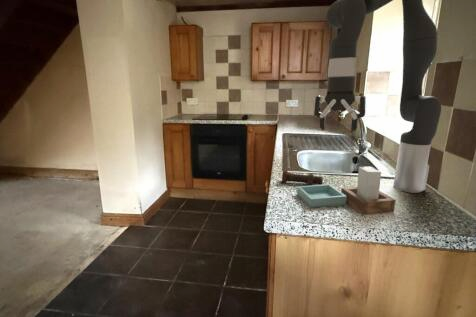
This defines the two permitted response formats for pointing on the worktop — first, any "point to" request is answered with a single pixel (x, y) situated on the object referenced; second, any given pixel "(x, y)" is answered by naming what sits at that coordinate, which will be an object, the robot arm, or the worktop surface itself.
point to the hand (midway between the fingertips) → (337, 130)
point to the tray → (321, 196)
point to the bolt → (301, 178)
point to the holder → (368, 202)
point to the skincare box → (368, 183)
